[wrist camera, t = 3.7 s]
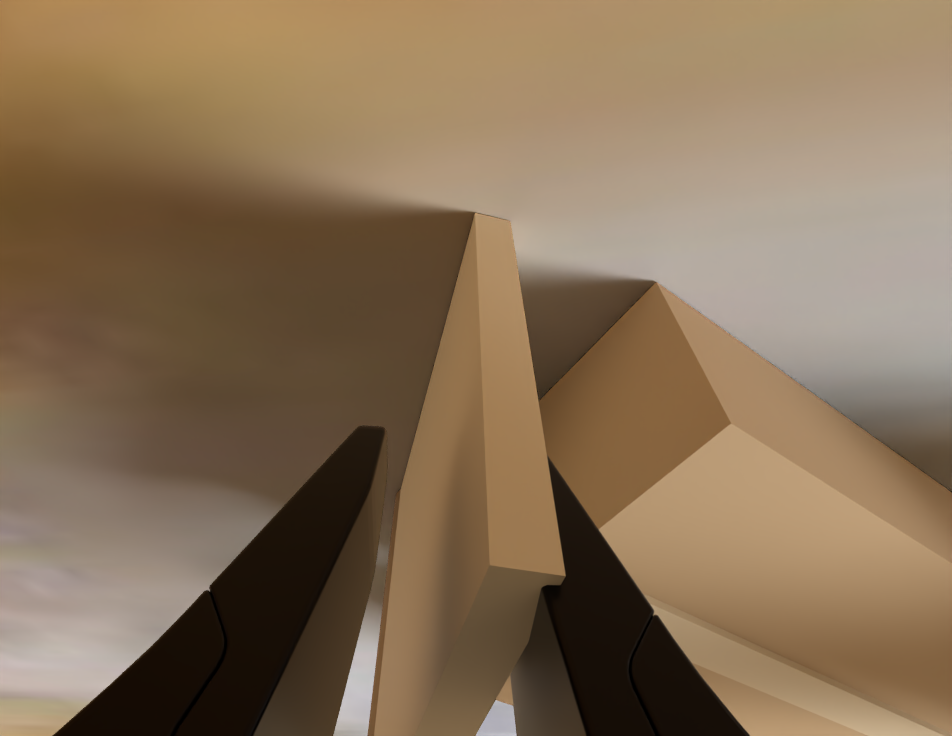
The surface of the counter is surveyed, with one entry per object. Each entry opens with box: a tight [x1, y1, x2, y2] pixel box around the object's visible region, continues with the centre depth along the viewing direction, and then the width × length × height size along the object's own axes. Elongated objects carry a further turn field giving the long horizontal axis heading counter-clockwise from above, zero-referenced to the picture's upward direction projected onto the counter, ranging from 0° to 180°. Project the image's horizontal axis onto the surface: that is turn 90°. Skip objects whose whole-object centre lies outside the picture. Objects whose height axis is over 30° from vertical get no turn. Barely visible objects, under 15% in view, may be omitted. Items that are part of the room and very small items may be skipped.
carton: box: [496, 282, 952, 736], centre depth 17 cm, size 15×10×5 cm, turn 55°
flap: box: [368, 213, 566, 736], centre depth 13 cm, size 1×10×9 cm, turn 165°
